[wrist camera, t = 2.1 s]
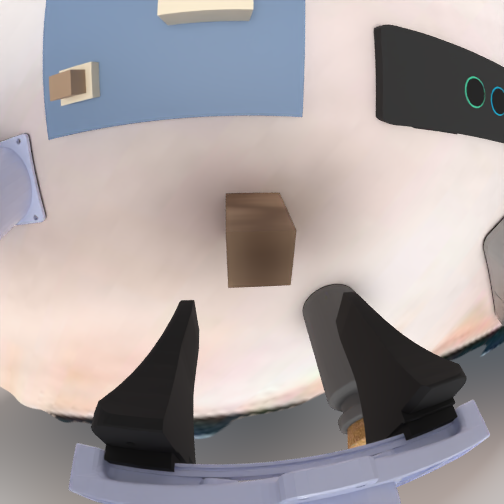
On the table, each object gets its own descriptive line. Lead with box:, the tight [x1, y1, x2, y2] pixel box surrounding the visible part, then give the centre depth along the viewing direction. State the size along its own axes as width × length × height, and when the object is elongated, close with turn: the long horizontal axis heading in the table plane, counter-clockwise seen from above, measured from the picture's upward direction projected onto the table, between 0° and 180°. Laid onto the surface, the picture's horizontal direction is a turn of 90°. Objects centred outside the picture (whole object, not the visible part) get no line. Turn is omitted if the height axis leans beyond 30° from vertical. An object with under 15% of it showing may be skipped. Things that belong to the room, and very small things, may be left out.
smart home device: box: [374, 25, 504, 143], centre depth 17 cm, size 8×2×20 cm
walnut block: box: [226, 193, 296, 288], centre depth 20 cm, size 4×4×6 cm
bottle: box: [303, 284, 366, 449], centre depth 22 cm, size 6×6×15 cm
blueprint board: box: [43, 0, 305, 140], centre depth 11 cm, size 18×16×5 cm
